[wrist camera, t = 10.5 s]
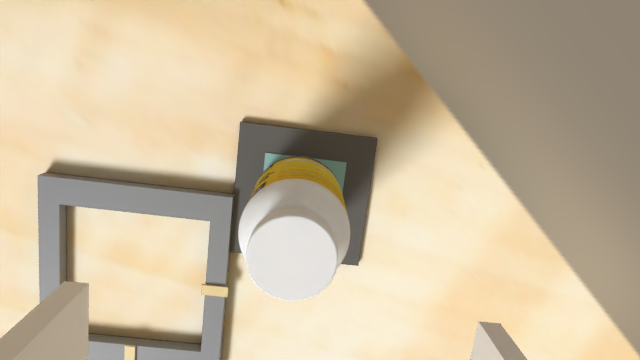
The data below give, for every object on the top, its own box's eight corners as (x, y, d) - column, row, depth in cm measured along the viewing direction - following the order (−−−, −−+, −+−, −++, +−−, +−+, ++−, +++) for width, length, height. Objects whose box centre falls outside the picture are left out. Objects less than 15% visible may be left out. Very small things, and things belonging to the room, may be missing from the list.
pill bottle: (283, 137, 33) (269, 171, 22) (358, 183, 34) (381, 238, 23) (238, 210, 34) (203, 278, 23) (312, 252, 35) (312, 338, 24)
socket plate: (45, 172, 34) (35, 176, 33) (238, 194, 34) (235, 198, 33) (47, 351, 37) (39, 360, 36) (223, 368, 38) (220, 377, 37)
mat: (241, 121, 33) (240, 122, 33) (376, 138, 34) (377, 138, 33) (230, 249, 35) (229, 252, 35) (357, 263, 36) (358, 266, 35)
